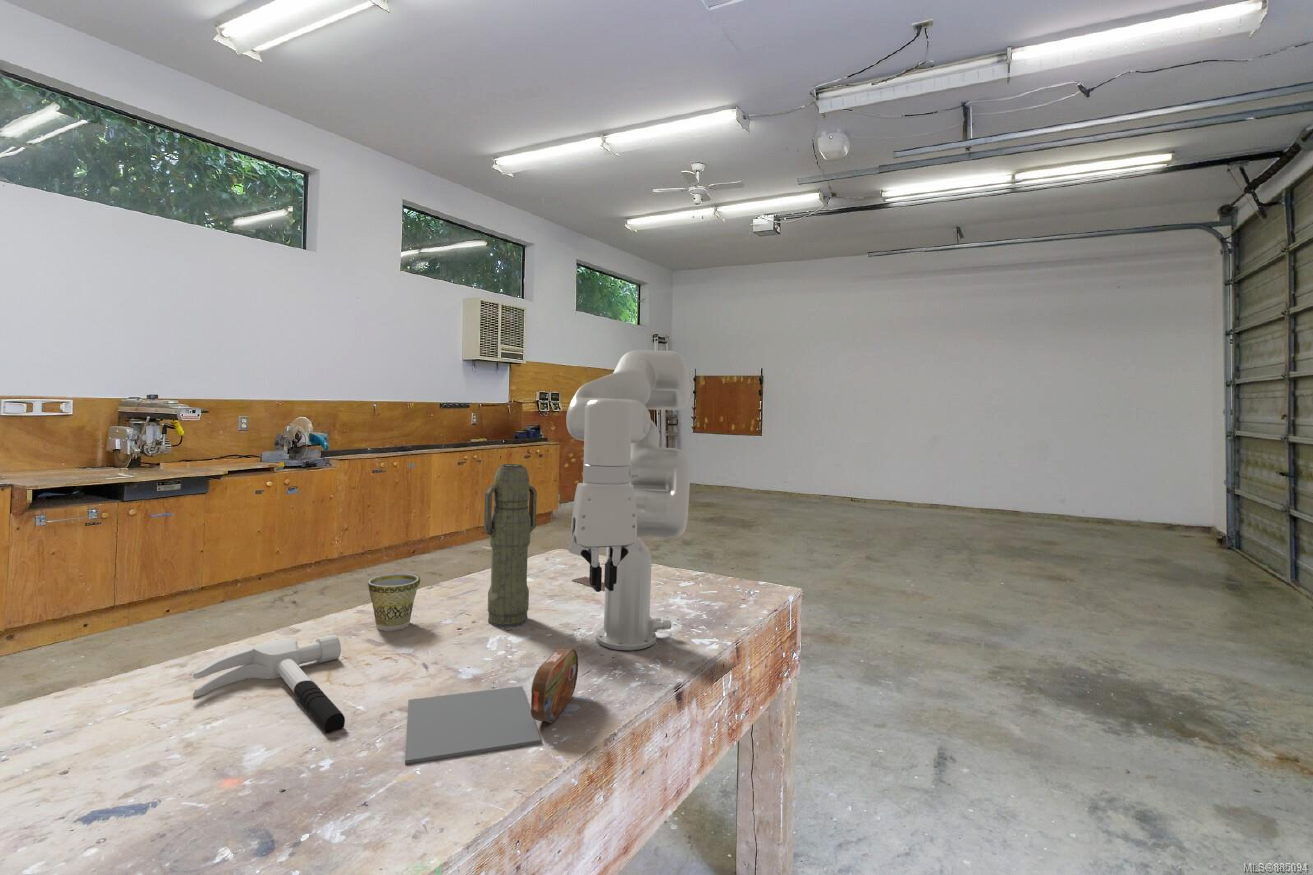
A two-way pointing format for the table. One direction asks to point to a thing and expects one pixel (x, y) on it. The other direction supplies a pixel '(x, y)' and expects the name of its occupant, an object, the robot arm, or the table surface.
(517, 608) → the thermos
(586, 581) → the wooden plank
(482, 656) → the table surface
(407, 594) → the ceramic cup
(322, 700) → the claw hammer
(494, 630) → the table surface
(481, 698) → the mat
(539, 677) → the tin
